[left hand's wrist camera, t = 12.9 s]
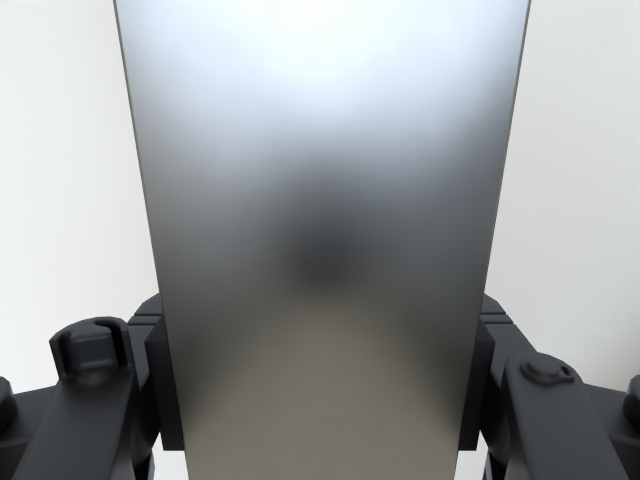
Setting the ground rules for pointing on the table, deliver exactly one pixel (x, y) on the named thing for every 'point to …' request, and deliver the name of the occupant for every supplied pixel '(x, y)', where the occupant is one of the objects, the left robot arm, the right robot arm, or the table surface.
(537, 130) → the table surface
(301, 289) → the bar
